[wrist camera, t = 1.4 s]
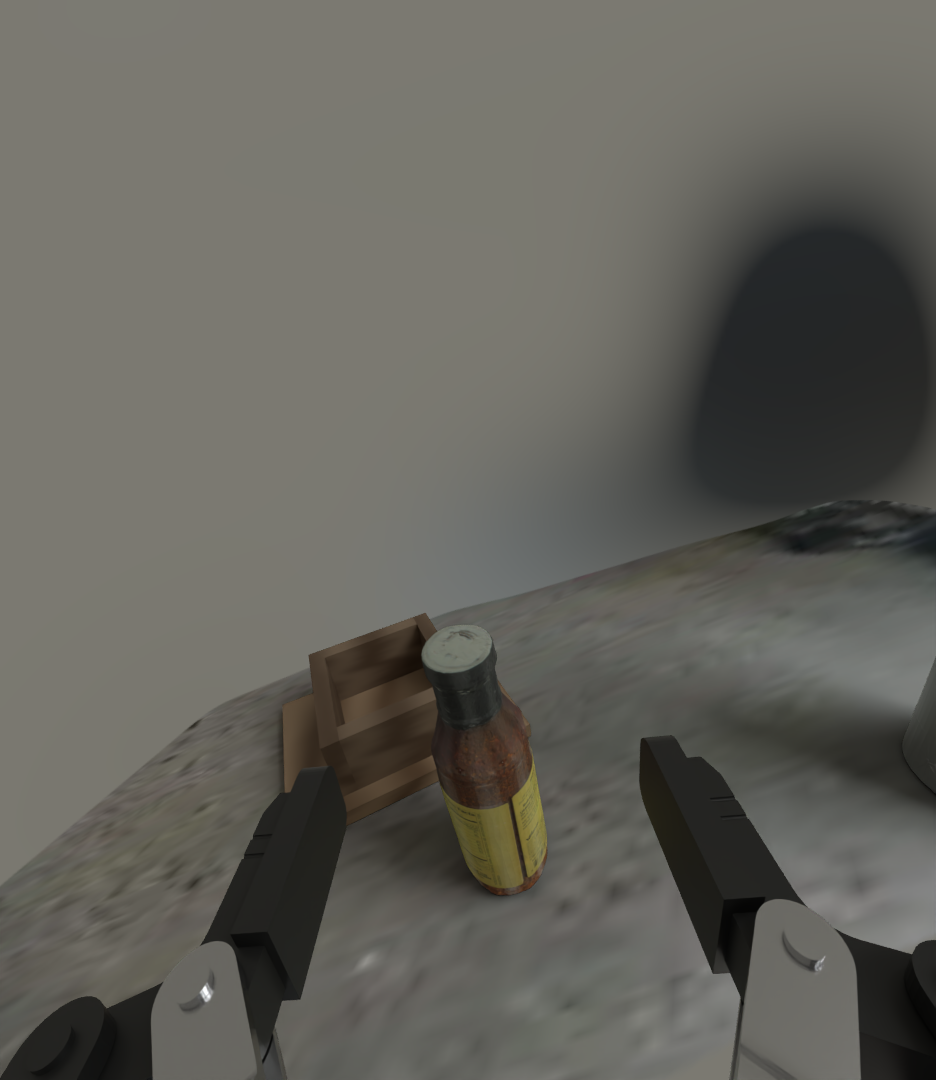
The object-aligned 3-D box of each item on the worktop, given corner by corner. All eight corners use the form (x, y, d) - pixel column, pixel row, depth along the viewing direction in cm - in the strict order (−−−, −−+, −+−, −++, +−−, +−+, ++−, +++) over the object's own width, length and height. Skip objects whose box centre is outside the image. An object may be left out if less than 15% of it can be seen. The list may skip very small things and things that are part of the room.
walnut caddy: (466, 643, 55) (457, 593, 51) (531, 735, 41) (523, 675, 38) (286, 714, 48) (263, 662, 45) (292, 852, 34) (259, 791, 31)
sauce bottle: (522, 797, 36) (492, 595, 27) (566, 873, 30) (546, 650, 22) (449, 836, 34) (393, 631, 25) (482, 925, 28) (425, 702, 20)
